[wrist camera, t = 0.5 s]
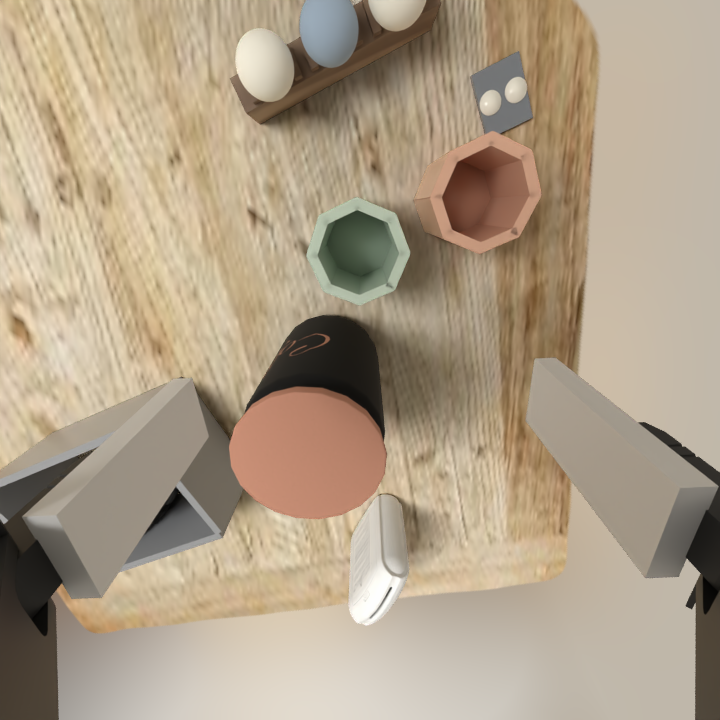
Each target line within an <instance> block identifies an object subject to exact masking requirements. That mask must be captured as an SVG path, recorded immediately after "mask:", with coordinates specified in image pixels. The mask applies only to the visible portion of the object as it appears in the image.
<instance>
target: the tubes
mask: <svg viewBox="0 0 720 720" xmlns="http://www.w3.org/2000/svg"><path fill="white" fill-rule="evenodd" d="M470 78H471V82H472V86H473V90H474V94H475V98H476V102H477V106H478V109H479V113H480V117H481V121H482V125H483V129H484V133H485V135H483V136H481V137H479V138H476V139H474V140H472V141H470V142H468V143H466V144H464V145H462V146H460V147H458V148H456V149H454V150H452V151H450V152H448V153H447V154H445V155H444V156H442V157H441V158H439V159H438V160H436V161H434V162H433V163H431V164H430V165H428V166H427V168H426V171H425V173H424V175H423V178H422V180H421V183H420V185H419V188H418V190H417V193H416V195H415V198H414V203H415V206H416V209H417V212H418V215H419V218H420V221H421V223H422V226H423V229H424V231H425V232H427V233H429V234H432V235H434V236H436V237H439V238H441V239H443V240H446V241H448V242H450V243H453V244H455V245H458V246H460V247H463V248H465V249H468V250H470V251H473V252H475V253H478V254H481V253H483V252H485V251H488V250H490V249H492V248H495V247H497V246H499V245H502V244H504V243H506V242H509V241H511V240H513V239H516V238H518V237H519V236H520V235H521V233H522V231H523V229H524V227H525V225H526V223H527V222H528V220H529V218H530V216H531V214H532V212H533V210H534V209H535V207H536V205H537V203H538V201H539V199H540V197H541V196H542V195H541V194H542V193H541V188H540V184H539V179H538V174H537V170H536V165H535V160H534V156H533V151H532V149H530V148H528V147H526V146H524V145H522V144H519V143H517V142H515V141H513V140H511V139H509V138H507V137H505V136H503V135H501V134H500V133H502V132H504V131H506V130H508V129H510V128H513V127H515V126H517V125H519V124H521V123H523V122H525V121H527V120H529V119H531V118H533V116H532V111H531V106H530V102H529V97H528V92H527V84H526V81H525V78H524V73H523V68H522V63H521V59H520V54H519V51H518V52H516V53H514V54H512V55H510V56H508V57H506V58H504V59H502V60H501V61H499V62H497V63H495V64H493V65H491V66H489V67H487V68H485V69H483V70H481V71H479V72H477V73H476V74H474V75H472V76H471V77H470ZM306 255H307V259H308V261H309V263H310V265H311V267H312V269H313V271H314V273H315V275H316V277H317V279H318V281H319V283H320V285H321V287H322V290H323V292H325V293H328V294H330V295H333V296H336V297H338V298H341V299H343V300H346V301H349V302H351V303H354V304H356V305H362V304H365V303H367V302H369V301H372V300H374V299H376V298H378V297H381V296H383V295H385V294H388V293H390V292H392V291H394V290H395V289H396V286H397V284H398V282H399V279H400V277H401V275H402V272H403V270H404V268H405V265H406V263H407V261H408V258H409V256H410V250H409V247H408V245H407V242H406V239H405V236H404V234H403V231H402V228H401V226H400V223H399V220H398V218H397V215H396V214H395V213H394V212H391V211H389V210H387V209H384V208H382V207H380V206H377V205H375V204H373V203H370V202H368V201H366V200H363V199H361V198H359V197H355V198H353V199H351V200H349V201H347V202H345V203H343V204H341V205H339V206H337V207H335V208H333V209H331V210H329V211H327V212H325V213H323V214H321V215H319V216H318V219H317V223H316V226H315V229H314V232H313V235H312V238H311V242H310V245H309V248H308V251H307V254H306Z"/></svg>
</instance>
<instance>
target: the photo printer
mask: <svg viewBox="0 0 720 720" xmlns="http://www.w3.org/2000/svg"><path fill="white" fill-rule="evenodd" d="M408 573H409V560H408V552H407V543H406V535H405V527H404V519H403V511H402V505H401V503H399V502H398V500H397V499H396V498H395V497H394V496H392V495H388V494H382V495H380V496H379V495H378V496H377V497H376V498H375V499H374V500H373V502H372V503H371V505H370V506H369V508H368V509H367V511H366V512H365V514H364V516H363V517H362V519H361V520H360V522H359V524H358V525H357V527H356V529H355V531H354V533H353V535H352V539H351V555H350V581H349V610H350V613H351V616H352V618H353V619H354V620H355V622H356V623H358V624H359V623H362V624H364V625H370V624H373V623H375V622H376V621H378V620H379V619H381V618H382V617H383V616H384V615H385V614H386V613H387V612H388V611H389V609H390V608H391V607H392V605H393V604H394V603H395V601H396V600H397V598H398V596H399V595H400V593H401V591H402V589H403V587H404V585H405V583H406V580H407V577H408Z"/></svg>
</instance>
